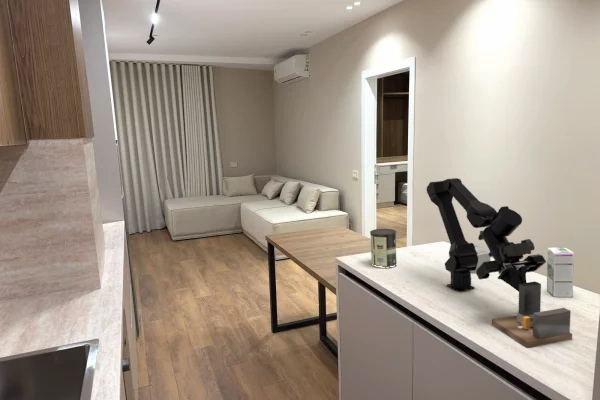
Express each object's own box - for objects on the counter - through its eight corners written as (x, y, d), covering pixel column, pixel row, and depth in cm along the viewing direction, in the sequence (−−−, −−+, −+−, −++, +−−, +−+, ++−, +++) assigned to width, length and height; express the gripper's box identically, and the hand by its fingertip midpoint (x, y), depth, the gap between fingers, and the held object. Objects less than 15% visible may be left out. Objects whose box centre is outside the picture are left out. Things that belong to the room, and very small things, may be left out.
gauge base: (491, 324, 114) (491, 298, 112) (532, 317, 116) (532, 292, 115) (527, 347, 101) (528, 319, 100) (572, 339, 103) (573, 311, 102)
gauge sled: (512, 321, 111) (512, 284, 109) (535, 317, 112) (536, 281, 111) (527, 331, 105) (528, 292, 104) (552, 326, 107) (553, 288, 105)
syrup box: (573, 297, 128) (575, 252, 125) (552, 297, 129) (554, 252, 127) (565, 290, 133) (567, 247, 131) (545, 290, 134) (547, 247, 132)
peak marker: (522, 327, 107) (523, 316, 106) (526, 327, 107) (527, 316, 106) (525, 329, 106) (525, 318, 105) (529, 328, 106) (530, 317, 106)
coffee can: (393, 260, 175) (393, 227, 172) (399, 268, 164) (398, 233, 162) (369, 261, 175) (368, 229, 173) (373, 269, 165) (372, 235, 163)
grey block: (472, 274, 152) (472, 252, 151) (448, 265, 164) (448, 244, 163) (494, 270, 156) (494, 247, 154) (469, 261, 168) (469, 240, 167)
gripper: (482, 233, 111) (511, 286, 102) (542, 226, 115) (574, 276, 106) (465, 254, 120) (490, 304, 111) (520, 246, 124) (548, 294, 115)
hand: (526, 294), depth 111 cm, fingers closed, pressing on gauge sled
